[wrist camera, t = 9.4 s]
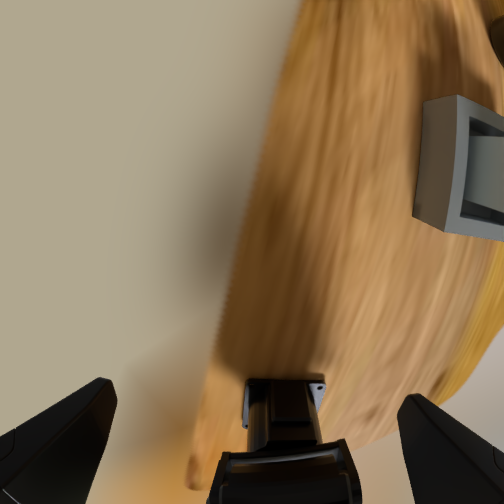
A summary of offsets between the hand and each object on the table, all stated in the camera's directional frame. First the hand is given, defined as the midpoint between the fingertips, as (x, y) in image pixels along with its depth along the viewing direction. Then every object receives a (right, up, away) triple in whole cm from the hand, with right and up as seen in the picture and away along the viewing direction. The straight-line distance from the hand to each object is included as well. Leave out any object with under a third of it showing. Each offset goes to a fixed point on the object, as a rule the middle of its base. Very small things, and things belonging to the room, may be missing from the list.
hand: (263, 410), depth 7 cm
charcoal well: (+15, +10, +9) cm, 20 cm away
